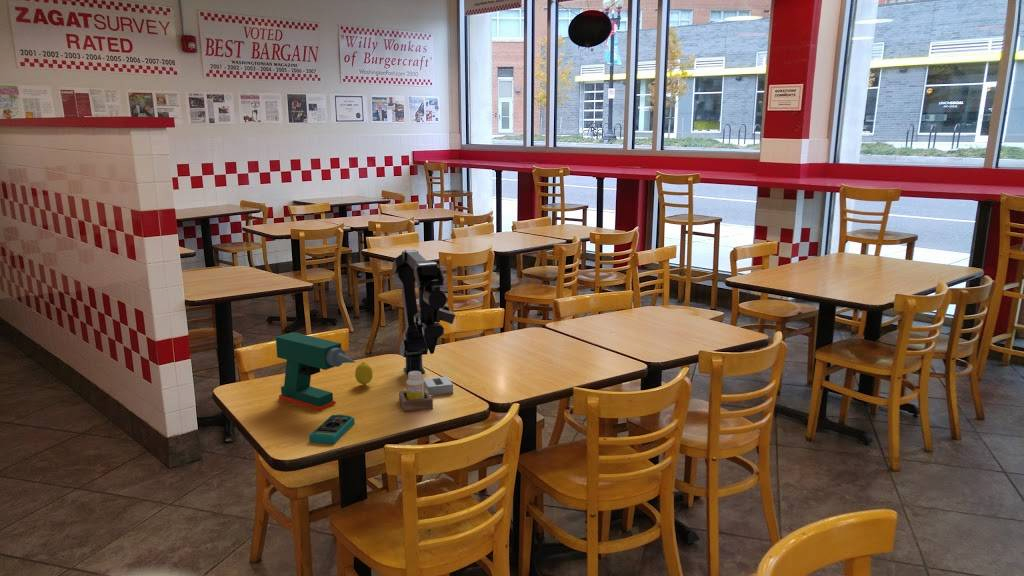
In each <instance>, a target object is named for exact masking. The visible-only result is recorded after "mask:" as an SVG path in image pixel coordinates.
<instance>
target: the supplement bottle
mask: <svg viewBox="0 0 1024 576" xmlns="http://www.w3.org/2000/svg"><path fill="white" fill-rule="evenodd" d="M407 377H408V379H407V380H406V381H405V382H406V383H405V384H406V388H405V389H406V391H407V400H414V399H423V398H424V380H423V379H424V378H422V377H423V373H421V372H420V371H411V372H409V373H408V376H407Z"/></svg>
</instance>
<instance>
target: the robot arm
mask: <svg viewBox="0 0 1024 576" xmlns="http://www.w3.org/2000/svg"><path fill="white" fill-rule="evenodd" d="M391 268H392V273H393V274H394V278H395V280H396V281H397V283H398V284H399V285H400V289H401V296H402V303H403V304H402V305H403V311H404V312H403V313H404V320H405V329H404V331H403V333H402V340H401V343H400V345H399V353H400V356H402V357H403V358H405V367H403V371H404V373H405V375H406V374H407V375H408V373H409V372H411V371H420V372H421V373H422V374H425V373H426V370H425V369H424V368H423V355H424V356H425V355H428V352H429V354H430V355H433V354H434V353H435V350H436V347H437V342H438V340H439V338H440V337H441V336H443V335H444V334H445V328H444V327H443V325H442V324H441V322H446V323H448V324H450V325H453V323H454V321H455V318H456V313H454V312H453V311H452V310H450V308H449V306H447V305H446V304H447V300H448V299H447V298H448V297H447V295H446V293H445V292H444V291H442V290H441V287H442V286H444V280H445V279H444V275H443V273H442V269H441V268H440V265H438V263H437V262H436V261H433V260H426V259H425V257H423V256H422V255H421V254H420V253H419V250H418V249H404V250H402V252H401V254H399V255H398V256H396V257H395V258H394V259H393V262H392V267H391ZM415 283H416V285H417V287H418V302H417V295H416V286H415Z"/></svg>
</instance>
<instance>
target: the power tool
mask: <svg viewBox="0 0 1024 576" xmlns="http://www.w3.org/2000/svg"><path fill="white" fill-rule="evenodd" d="M275 346H276V357H277V358H279V359H282V360H286V362H285V363H286V364H285V374H284V382H283V385H281V386H280V392H281V394H278V398H279V399H280V400H283V401H286V402H289V403H293V404H295V405H298V406H302V407H306V408H308V409H312V410H315V411H318V412H319V411H320V412H321V411H323V410H325V409H328V408H330V407H333V406H335V405H337V401H336V400H334V395H333V392H331V391H329V390H324V389H320V388H317V387H313V386H311V378H312V375H315V374H318V373H321V370H324V371H326V370H329V369H332V368H335V367H336V368H337V367H340V366H342V365H343V364H349V363H352V364H353V363H356V360H354V359H352V358H351V357H349V356H347V355H346V353H345V351H344V350H343V349H342V343H341V342H337V341H333V340H328V339H324V338H320V337H315V336H312V335H307V334H302V333H299V332H298V333H297V332H294V331H293V332H289V333H286V334H282V335H277V336H275ZM334 404H335V405H334ZM332 405H333V406H332Z"/></svg>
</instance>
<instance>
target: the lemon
mask: <svg viewBox="0 0 1024 576" xmlns="http://www.w3.org/2000/svg"><path fill="white" fill-rule="evenodd" d="M354 377H355V380H356V382H358V384H361V385H363V387H365V386H366V385H367V384H369V383H370V382H371V381H372V379H373V369H372V366H371V365H370V364H369V363H367V362H364V361H363V362H361V363H359V364H358V365H357V366H356V368H355V373H354Z"/></svg>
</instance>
